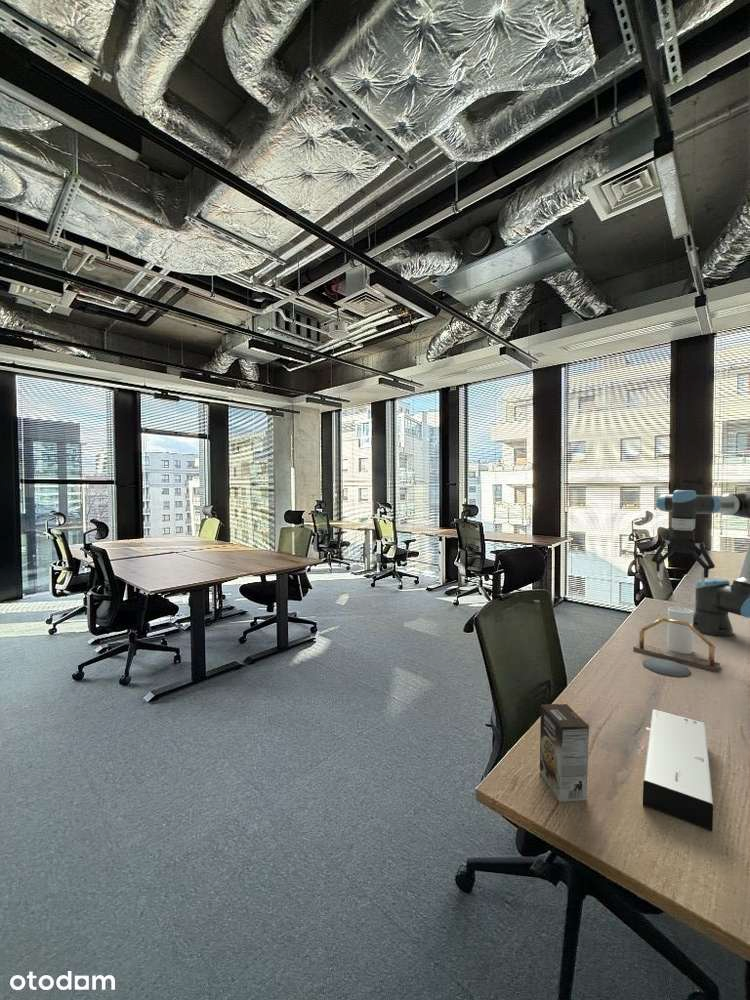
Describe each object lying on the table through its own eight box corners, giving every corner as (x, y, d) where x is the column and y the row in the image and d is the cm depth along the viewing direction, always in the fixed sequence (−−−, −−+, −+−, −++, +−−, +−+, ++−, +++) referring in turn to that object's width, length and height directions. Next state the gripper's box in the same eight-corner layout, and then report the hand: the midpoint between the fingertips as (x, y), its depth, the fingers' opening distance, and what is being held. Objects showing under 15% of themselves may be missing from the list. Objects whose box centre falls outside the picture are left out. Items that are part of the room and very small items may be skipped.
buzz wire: (638, 646, 172) (639, 611, 171) (719, 667, 153) (721, 627, 152) (633, 650, 168) (634, 614, 167) (716, 672, 149) (718, 631, 148)
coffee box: (538, 773, 97) (539, 703, 96) (565, 771, 98) (566, 702, 97) (558, 803, 88) (560, 726, 87) (588, 801, 88) (590, 725, 88)
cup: (683, 646, 173) (685, 607, 172) (697, 654, 165) (698, 613, 164) (662, 645, 174) (663, 606, 173) (674, 653, 166) (675, 612, 165)
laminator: (712, 836, 80) (713, 804, 80) (636, 807, 87) (636, 777, 87) (704, 746, 108) (705, 722, 107) (646, 729, 115) (647, 707, 115)
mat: (649, 656, 162) (649, 655, 162) (694, 668, 152) (694, 666, 152) (637, 667, 153) (637, 665, 153) (684, 680, 142) (684, 678, 142)
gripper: (643, 527, 174) (642, 578, 175) (721, 532, 156) (719, 590, 157) (649, 526, 179) (647, 576, 180) (725, 531, 161) (723, 586, 162)
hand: (681, 582), depth 168 cm, fingers open, 13 cm apart
